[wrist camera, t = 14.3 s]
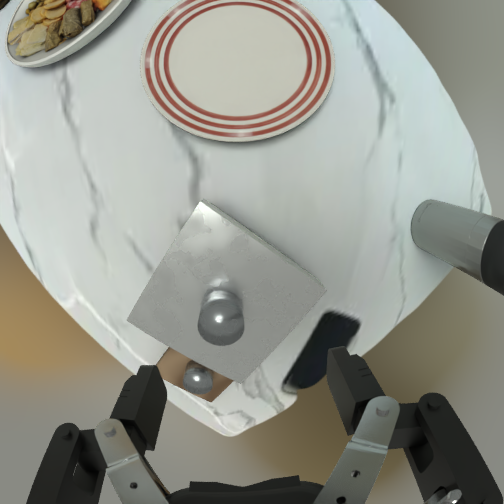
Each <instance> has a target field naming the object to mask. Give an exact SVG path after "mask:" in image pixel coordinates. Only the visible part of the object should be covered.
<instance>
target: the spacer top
mask: <svg viewBox="0 0 504 504" xmlns="http://www.w3.org/2000/svg"><path fill="white" fill-rule="evenodd" d="M183 386H184V388H185V389H186V390H187V391H189V392H191V393H193V394H199V395H200V394H206V393H208V392H210V391H211V389H212V386H213V370H211V369H209V368H207V367H205V366H203V365H201V364H199V363H198V362H196V361H194V360H191V361H189V362H188V363H187V364H186V368H185V373H184V378H183Z"/></svg>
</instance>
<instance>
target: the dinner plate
mask: <svg viewBox="0 0 504 504" xmlns="http://www.w3.org/2000/svg"><path fill="white" fill-rule="evenodd" d="M334 71H335V57H334V51H333V47H332V43H331V41H330V38H329V36H328V34H327V32H326V30H325V29H324V27H323V26H322V24H321V23H320V22H319V20H318V19H317V18H316V17H315V16H314V15H313V14H312V13H311V12H310V11H309V10H308V9H307V8H306V7H304V6H303V5H302V4H300V3H299V2H297V1H296V0H181V1H180V2H178V3H177V4H175V5H174V6H172V7H171V8H170V9H169V10H167V11H166V12H165V13H164V14H163V15H162V16H161V17H160V18H159V20H158V21H157V22H156V23H155V25H154V26H153V27H152V29H151V30H150V32H149V34H148V36H147V38H146V40H145V43H144V46H143V49H142V53H141V60H140V72H141V78H142V83H143V86H144V89H145V91H146V93H147V95H148V97H149V99H150V100H151V102H152V103H153V105H154V106H155V107H156V109H157V110H158V111H159V112H160V113H161V114H162V115H163V116H164V117H165V118H166V119H168V120H169V121H170V122H172V123H173V124H175V125H176V126H178V127H179V128H181V129H183V130H185V131H187V132H189V133H191V134H194V135H197V136H200V137H203V138H207V139H211V140H217V141H225V142H247V141H255V140H261V139H266V138H270V137H273V136H276V135H279V134H282V133H284V132H286V131H288V130H290V129H292V128H294V127H296V126H297V125H299V124H301V123H302V122H303V121H305V120H306V119H307V118H308V117H310V116H311V115H312V114H313V113H314V112H315V111H316V110H317V109H318V108H319V106H320V105H321V104H322V102H323V101H324V100H325V98H326V96H327V94H328V92H329V90H330V88H331V85H332V82H333V78H334Z"/></svg>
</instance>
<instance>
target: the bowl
mask: <svg viewBox="0 0 504 504" xmlns="http://www.w3.org/2000/svg"><path fill="white" fill-rule="evenodd" d="M131 1H132V0H22V1H21V2H20V4H19V5H18V7H17V8H16V10H15V12H14V14H13V16H12V18H11V20H10V23H9V25H8V29H7V32H6V37H5V51H6V54H7V57H8V58H9V60H10V61H11V62H12V63H14V64H16V65H19V66H22V67H28V68H33V67H41V66H45V65H49V64H52V63H54V62H57V61H59V60H61V59H63V58H65V57H67V56H69V55H71V54H73V53H74V52H76V51H78V50H79V49H81V48H82V47H84V46H85V45H87V44H88V43H89V42H91V41H92V40H93V39H95V38H96V37H97V36H98V35H100V34H101V33H102V32H103V31H104V30H105V29H106V28H107V27H109V26H110V25H111V24H112V23H113V22H114V21H115V20H116V19H117V18H118V17H119V16H120V14H121V13H122V12H123V11H124V10H125V9H126V7H127V6H128V5H129V3H130V2H131Z"/></svg>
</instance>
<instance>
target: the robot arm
mask: <svg viewBox="0 0 504 504" xmlns="http://www.w3.org/2000/svg"><path fill="white" fill-rule="evenodd" d="M411 231H412V237H413V240H414V242H415V244H416V245H417V246H418V247H419V248H421V249H423V250H425V251H427V252H429V253H430V254H432V255H434V256H436V257H438V258H440V259H441V260H443V261H445V262H447V263H449V264H451V265H452V266H454V267H456V268H458V269H460V270H461V271H463V272H465V273H467V274H468V275H470V276H472V277H474V278H475V279H477V280H479V281H480V282H482V283H484V284H486V285H487V286H489V287H490V288H492V289H494V290H495V291H497V292H499V293H500V294H502V295H504V220H503V219H500V218H497V217H493V216H490V215H487V214H484V213H480V212H477V211H474V210H470V209H467V208H463V207H459V206H456V205H452V204H448V203H445V202H441V201H437V200H427V201H425V202H423V203H422V204H421V205H420V206H419V207H418V208H417V210H416V212H415V213H414V216H413V219H412V225H411ZM327 381H328V385H329V388H330V390H331V393H332V395H333V398H334V401H335V403H336V406H337V408H338V411H339V414H340V416H341V419H342V421H343V424H344V427H345V430H346V432H347V435H348V436H349V435H352V434H354V436H353V438H352V440H351V441H349V443H348V444H347V446H346V448H345V450H344V452H343V454H342V456H341V458H340V459H339V461H338V463H337V465H336V467H335V468H334V470H333V472H332V474H331V476H330V477H329V479H328V481H327V482H326V484H325V485H324V486H323V485H320V484H317V483H313V482H307V481H300V480H299V475H297V476H291V477H283V478H276V479H270V480H267V481H263V482H260V483H257V484H253V485H249V486H245V487H240V486H234V485H228V484H223V483H218V482H192V481H191V482H190V487H189V488H185V489H181V490H179V491H176V492H174V493H172V494H170V492H169V491H168V490H167V489H166V487H164V485H163V483H162V482H161V481H160V479H159V478H158V476H157V475H156V473H155V472H154V470H153V468H152V467H151V465H150V464H149V462H148V461H147V459H146V458H145V456H144V455H145V451H146V450H151V451H154V449H155V445H156V441H157V437H158V432H159V428H160V424H161V420H162V416H163V412H164V408H165V404H166V401H167V390H166V387H165V384H164V382H163V379H162V377H161V374H160V371H159V369H158V367H157V366H156V365H141V366H140V368H139V370H138V373H137V375H132V376H131V377H130V378H129V379H128V380H127V381H126V382H125V384H124V386H123V389H122V391H121V393H120V397H119V398H118V400H117V402H116V404H115V407H114V409H113V412H112V414H111V416H110V418H109V419H106V420H103V421H101V422H100V423H99V424H98V425H97V426H96V428H95V429H91V430H79V428H78V427H77V426H76V425H75V424H73V423H64V424H62V425H60V426H59V427H58V428H57V429H56V431H55V433H54V435H53V437H52V439H51V441H50V443H49V446H48V448H47V451H46V453H45V455H44V457H43V460H42V462H41V465H40V467H39V470H38V472H37V475H36V477H35V480H34V483H33V485H32V488H31V491H30V494H29V497H28V500H27V503H26V504H98V502H99V498H100V493H101V489H102V485H103V481H104V476H105V472H107V474H108V476H109V478H110V480H111V482H112V484H113V487H114V489H115V491H116V492H117V494H118V496H119V498H120V500H121V502H122V504H365V502H366V500H367V498H368V496H369V494H370V491H371V489H372V487H373V485H374V483H375V481H376V478H377V476H378V474H379V471H380V469H381V466H382V464H383V461H384V459H385V456H386V454H387V450H388V449H397V448H403V449H404V452H405V454H406V457H407V459H408V461H409V464H410V466H411V469H412V471H413V474H414V476H415V479H416V481H417V484H418V487H419V489H420V492H421V495H422V497H423V500H424V504H503V497H502V494H501V492H500V490H499V488H498V486H497V484H496V482H495V480H494V478H493V476H492V474H491V472H490V471H489V469H488V467H487V465H486V464H485V461H484V460H483V458H482V456H481V454H480V453H479V451H478V449H477V447H476V446H475V444H474V442H473V441H472V439H471V437H470V435H469V434H468V432H467V431H466V429H465V428H464V426H463V424H462V423H461V421H460V419H459V418H458V416H457V415H456V413H455V411H454V410H453V408H452V407H451V405H450V404H449V402H448V401H447V399H446V398H445V397H444V396H443V395H441V394H438V393H427V394H425V395H423V396H422V397H421V398H420V400H419V402H418V403H408V404H400V403H398V402H397V401H396V400H395V399H393V398H391V397H387V396H386V395H385V394H384V392H383V390H382V388H381V387H380V385H379V384H378V382H377V380H376V378H375V377H374V375H373V374H372V372H371V370H370V369H369V367H368V365H367V363H366V362H365V360H364V359H363V358H361V357H360V356H358V355H357V354H355V355H350V354H349V353H348V351H347V349H346V347H345V346H342V347H337V348H332V349H329V350H328V359H327ZM76 464H77V466H76ZM75 467H76V469H75ZM74 471H75V472H74ZM73 474H74V475H73Z"/></svg>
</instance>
